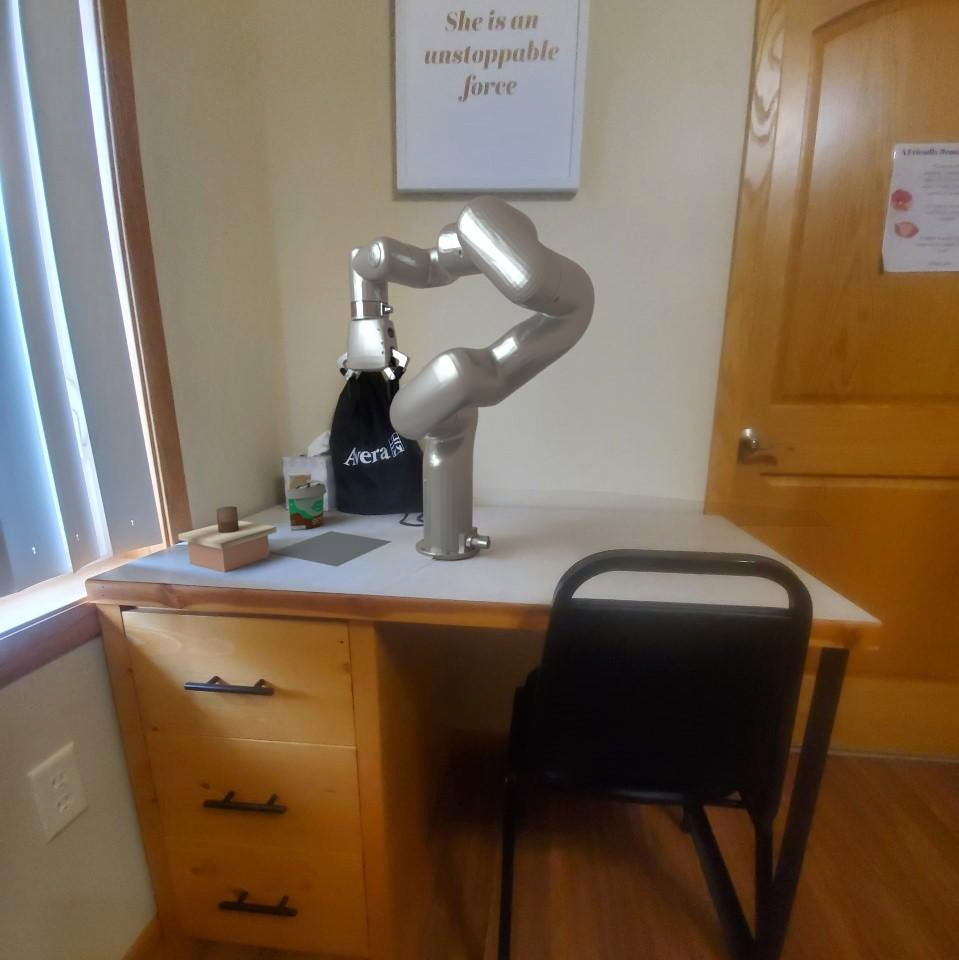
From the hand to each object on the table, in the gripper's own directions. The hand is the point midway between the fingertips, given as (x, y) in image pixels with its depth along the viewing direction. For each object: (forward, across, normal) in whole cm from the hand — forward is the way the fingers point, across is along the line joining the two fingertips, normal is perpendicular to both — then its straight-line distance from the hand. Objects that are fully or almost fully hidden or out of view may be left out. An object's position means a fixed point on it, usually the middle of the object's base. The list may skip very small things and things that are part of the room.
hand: (373, 399), depth 100 cm
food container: (+29, +16, +2) cm, 33 cm away
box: (+29, +25, -3) cm, 38 cm away
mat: (+29, +2, +13) cm, 32 cm away
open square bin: (+29, +13, +26) cm, 41 cm away
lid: (+24, +13, +26) cm, 38 cm away
